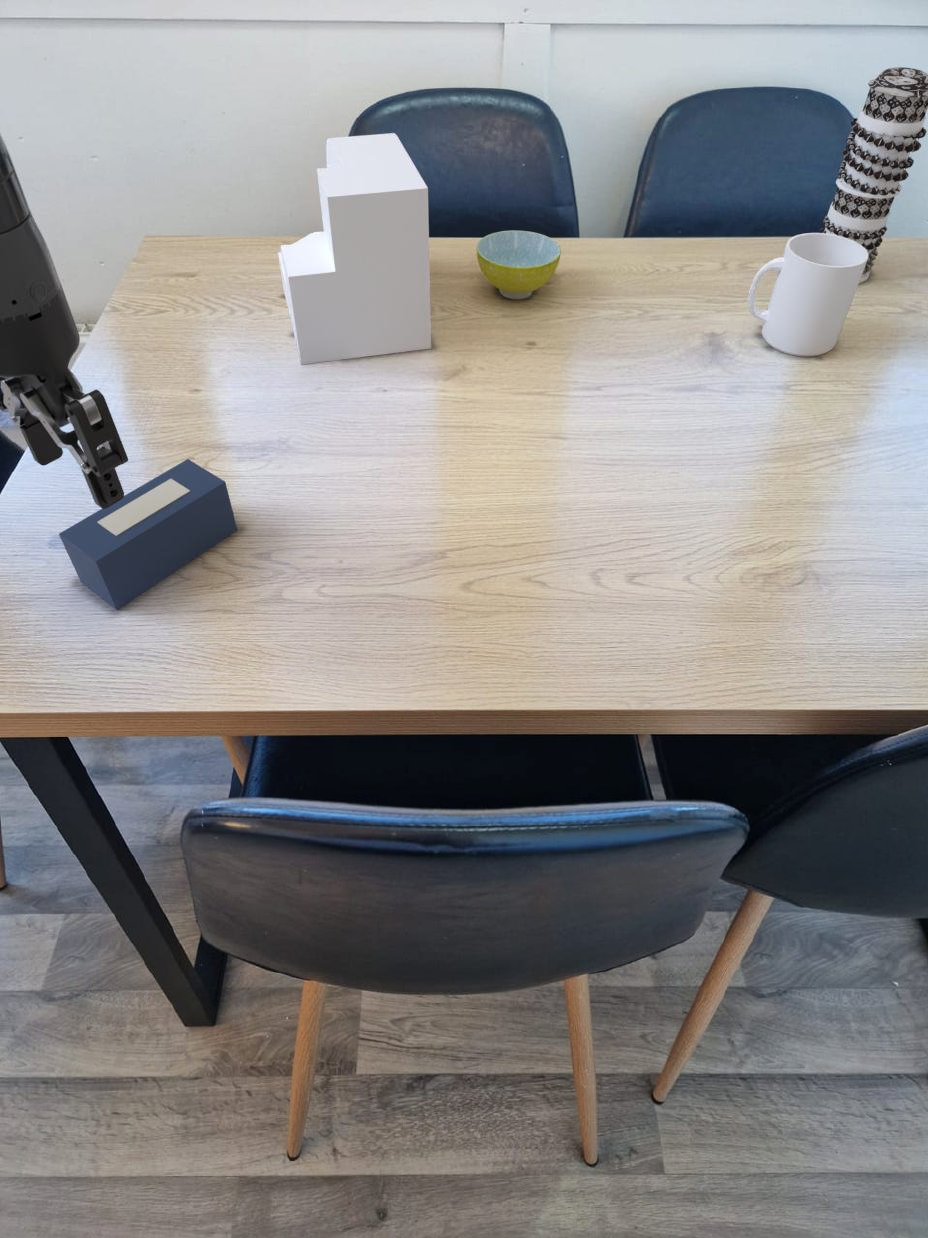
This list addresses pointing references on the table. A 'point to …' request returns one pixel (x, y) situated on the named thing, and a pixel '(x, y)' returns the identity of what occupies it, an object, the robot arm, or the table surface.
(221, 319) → the table surface
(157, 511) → the rectangular box
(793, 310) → the mug
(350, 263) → the block
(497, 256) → the bowl
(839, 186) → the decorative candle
